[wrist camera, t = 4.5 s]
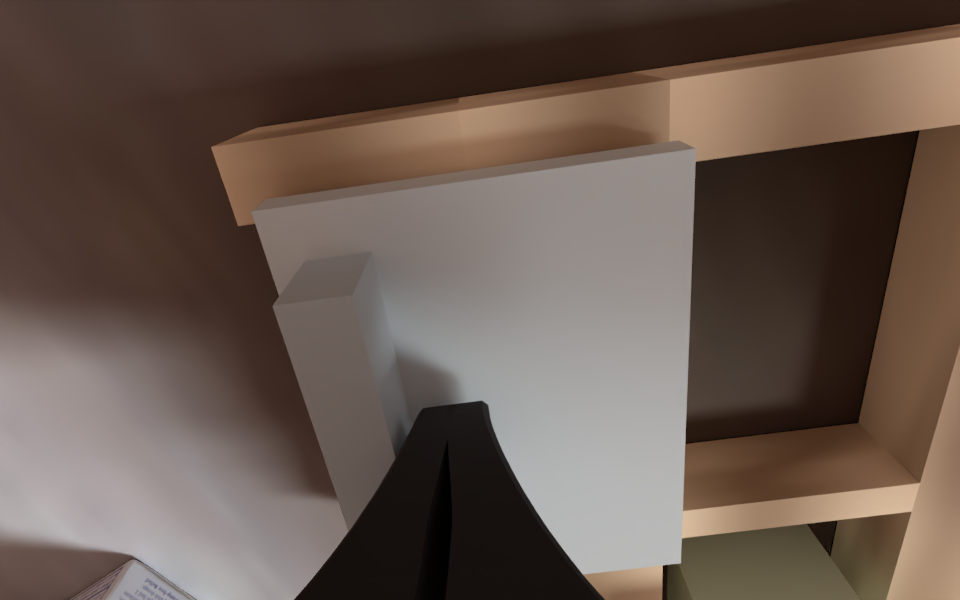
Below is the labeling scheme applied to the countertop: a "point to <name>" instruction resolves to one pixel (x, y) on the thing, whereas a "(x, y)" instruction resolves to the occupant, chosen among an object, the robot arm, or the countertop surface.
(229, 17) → the countertop surface
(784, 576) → the block
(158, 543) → the countertop surface
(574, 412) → the lid
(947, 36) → the puzzle board
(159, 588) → the medicine box
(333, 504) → the countertop surface
